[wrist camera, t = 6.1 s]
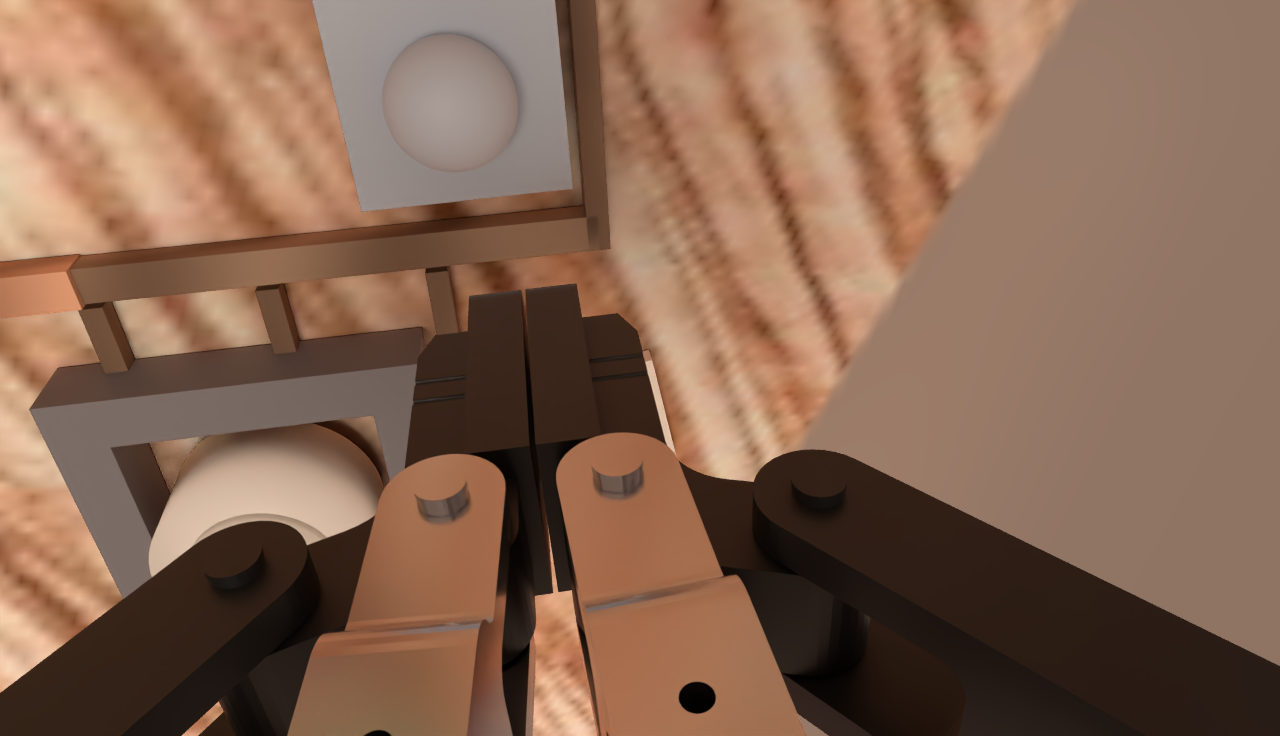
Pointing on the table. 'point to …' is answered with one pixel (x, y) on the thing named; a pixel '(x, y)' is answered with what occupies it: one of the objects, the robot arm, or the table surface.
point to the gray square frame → (208, 420)
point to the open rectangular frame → (328, 246)
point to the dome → (267, 487)
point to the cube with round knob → (447, 98)
